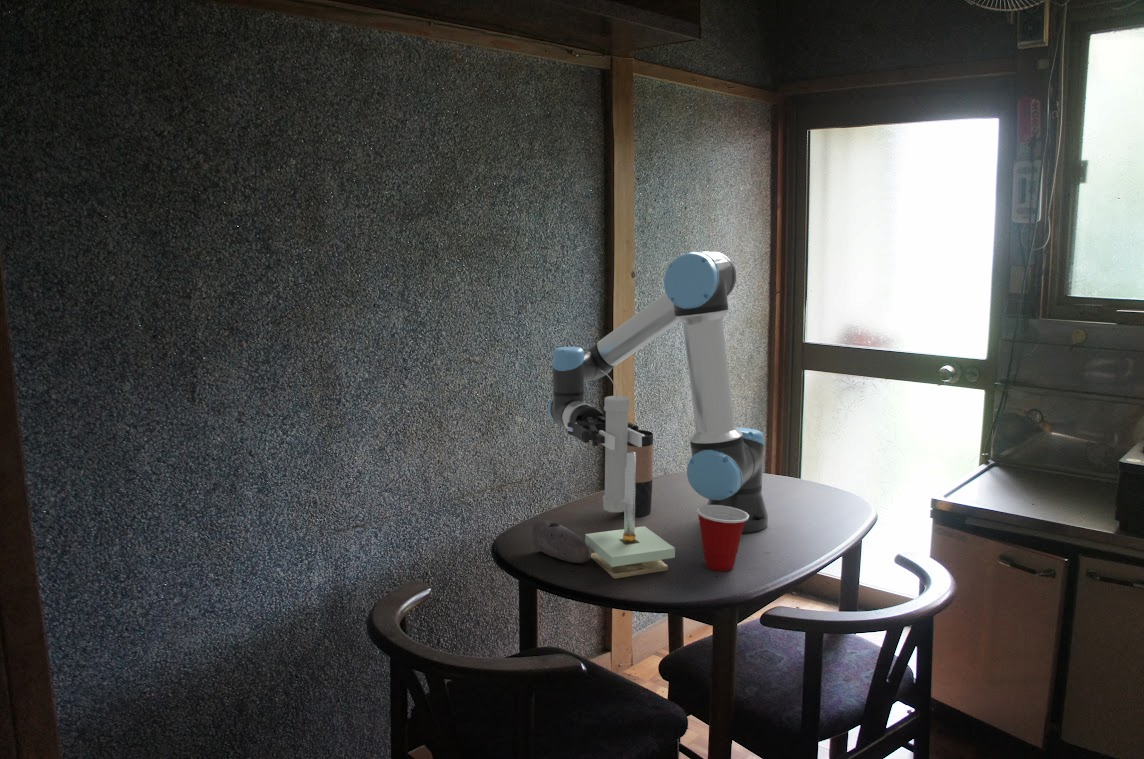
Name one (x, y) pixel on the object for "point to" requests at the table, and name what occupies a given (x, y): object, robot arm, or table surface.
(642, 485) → the travel mug
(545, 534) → the perforated stone tool
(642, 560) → the pale mint square tile
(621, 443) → the pipe
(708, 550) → the plastic cup
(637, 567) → the post stand
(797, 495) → the table surface
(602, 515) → the table surface
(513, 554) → the table surface
